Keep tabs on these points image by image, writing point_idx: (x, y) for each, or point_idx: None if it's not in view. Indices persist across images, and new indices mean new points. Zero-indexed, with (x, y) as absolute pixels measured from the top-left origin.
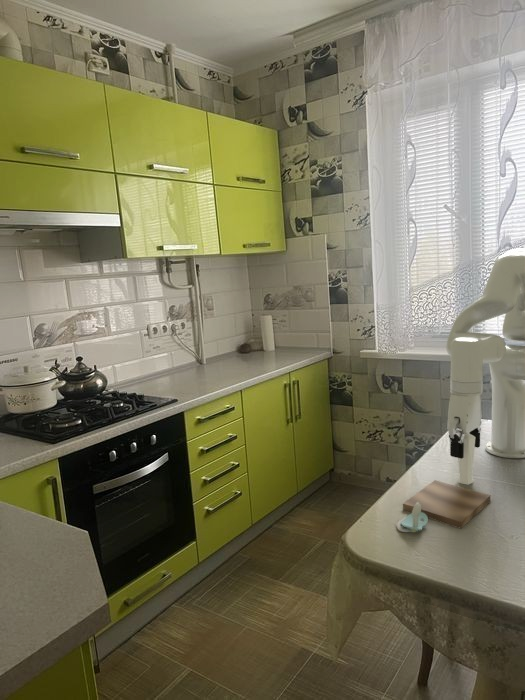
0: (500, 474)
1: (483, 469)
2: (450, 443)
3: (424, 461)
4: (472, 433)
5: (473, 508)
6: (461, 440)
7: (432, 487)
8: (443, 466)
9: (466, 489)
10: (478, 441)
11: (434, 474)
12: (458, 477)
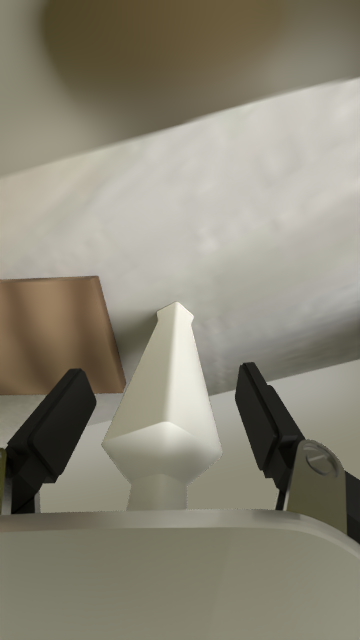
0: (256, 357)
1: (269, 322)
2: (23, 424)
3: (251, 118)
4: (263, 447)
5: None
6: (22, 506)
7: (49, 297)
8: (238, 222)
9: (109, 356)
10: (243, 424)
11: (161, 232)
12: (173, 306)
